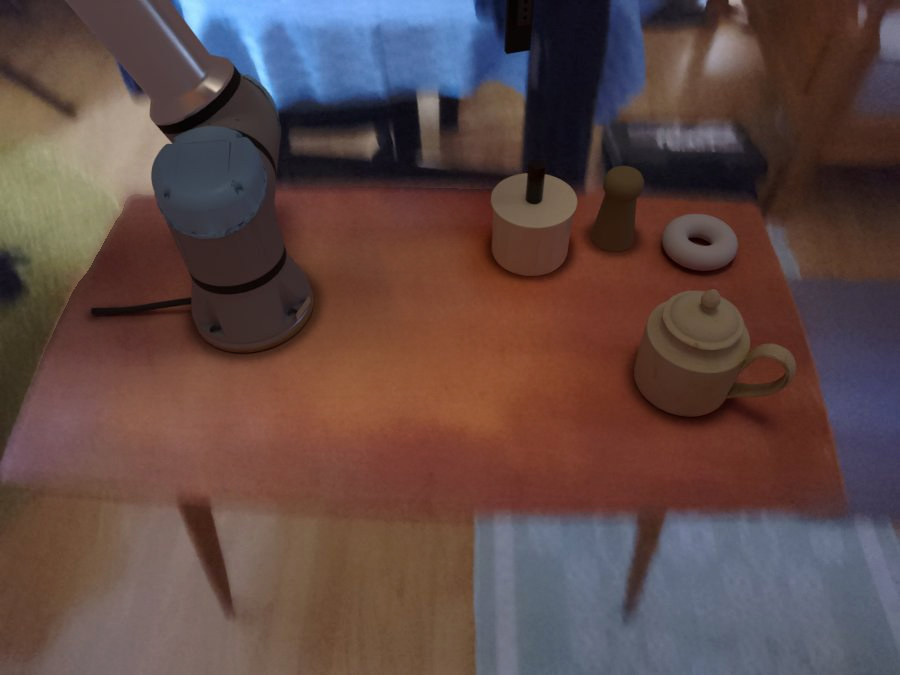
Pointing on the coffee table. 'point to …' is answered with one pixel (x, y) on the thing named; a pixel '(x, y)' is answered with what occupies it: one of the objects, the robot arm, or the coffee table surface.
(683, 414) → the sugar bowl
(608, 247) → the brown pawn
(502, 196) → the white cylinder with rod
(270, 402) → the coffee table surface
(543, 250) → the pot
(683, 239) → the donut
